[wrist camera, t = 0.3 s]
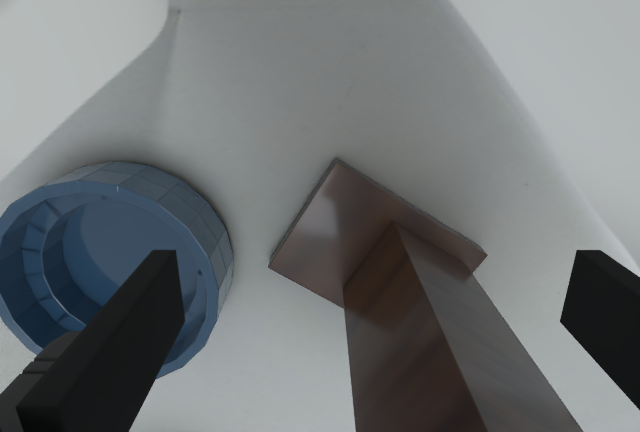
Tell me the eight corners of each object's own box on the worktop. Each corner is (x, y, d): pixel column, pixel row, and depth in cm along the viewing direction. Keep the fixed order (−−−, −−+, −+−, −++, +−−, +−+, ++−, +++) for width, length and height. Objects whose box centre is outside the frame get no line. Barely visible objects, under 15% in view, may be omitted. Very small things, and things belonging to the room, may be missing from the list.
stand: (269, 259, 35) (46, 1136, 6) (335, 157, 32) (458, 961, 3) (417, 340, 37) (712, 1200, 9) (490, 253, 34) (1259, 1134, 6)
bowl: (-2, 216, 33) (-67, 248, 28) (161, 122, 31) (125, 136, 25) (120, 359, 38) (86, 411, 32) (269, 288, 35) (260, 331, 30)
